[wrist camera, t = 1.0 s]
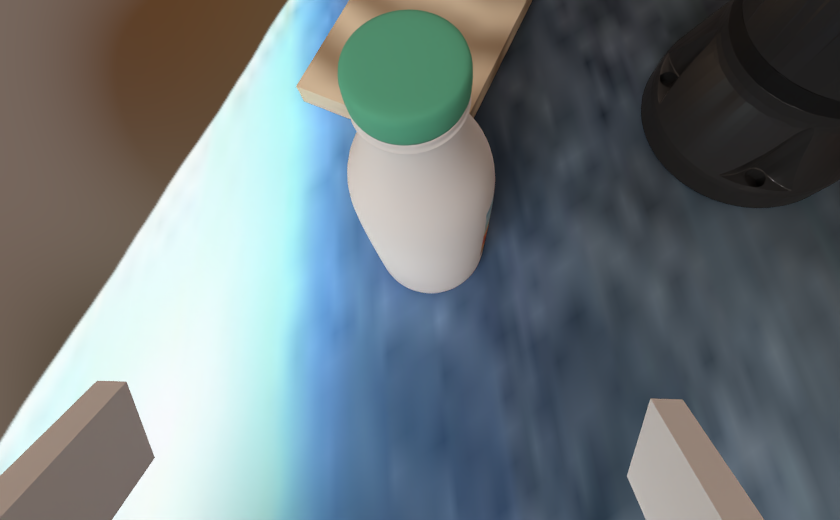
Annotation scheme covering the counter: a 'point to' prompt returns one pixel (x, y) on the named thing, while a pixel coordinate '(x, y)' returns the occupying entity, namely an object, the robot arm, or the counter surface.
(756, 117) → the robot arm
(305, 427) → the counter surface
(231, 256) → the counter surface
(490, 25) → the shelf board
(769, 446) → the counter surface
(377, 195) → the milk bottle
